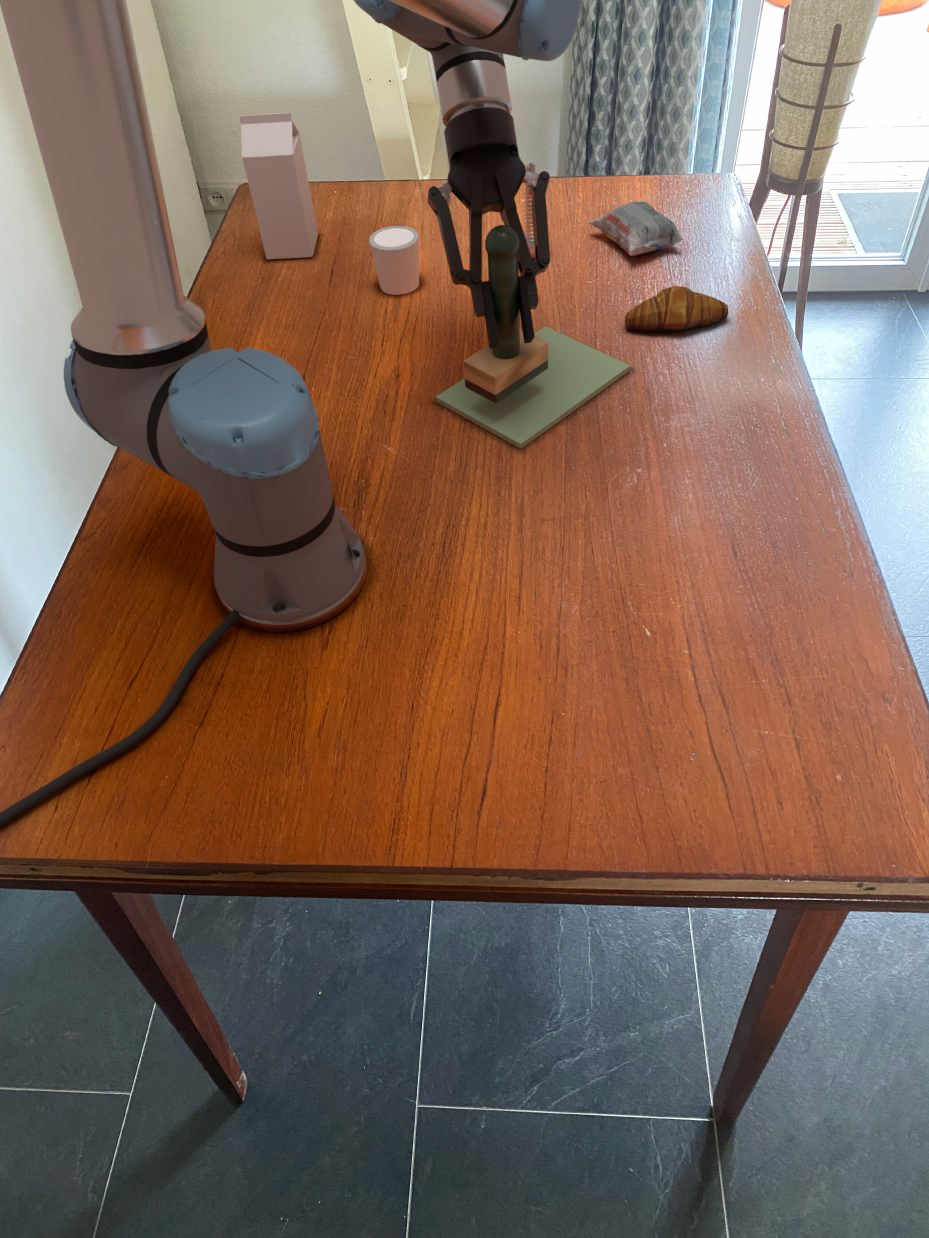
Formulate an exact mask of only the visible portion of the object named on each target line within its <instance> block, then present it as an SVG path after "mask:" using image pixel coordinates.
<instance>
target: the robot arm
mask: <svg viewBox="0 0 929 1238" xmlns="http://www.w3.org/2000/svg"><path fill="white" fill-rule="evenodd" d="M353 2H354V3H355V4H356V6H357V7H358V8H359V9H360V10H362V11H363V12H364V13H366V14H367V15H368V16H370V17H371V18H372V19H373V20H374V22H376V23H377V24H382V25H383V26H385V27H387V29H388V28H389V29H390V30H392V31H394V32H395V33H397V34H399V35H400V36H402V37H404V38H405V39H407V40H408V41H410V42H412V43H414V44H415V45H417V46H418V47H420V48H422V49H423V50H425V51H427V52H429V53H430V56H431V58H432V63H433V70H434V75H435V82H436V87H437V93H438V100H439V107H440V113H441V114H440V115H441V121H442V124H443V126H444V127H445V128H444V131H443V135H444V141H445V147H446V154H447V160H448V167H449V171H448V174H447V178H446V181H445V182H443V183H442V184H440V185H438V186H436V185H432V186H430V187H429V188H428V192H427V203H428V206H429V207H430V208H431V210H432V212H433V213H434V215H435V216H436V218H437V222H438V228H439V231H440V235H441V240H442V244H443V249H444V252H445V256H446V260H447V266H448V269H449V274H450V277H451V282H452V283H453V284H454V285H455V286H459V285H461V286H466V287H467V288H469V291H470V295H471V301H472V308H473V314H474V316H475V317H476V318H483V317H484V322H485V329H486V335H487V341H488V342H487V343H488V345H489V348H490V349H491V348H496V347H497V345H498V343H499V340H498V333H497V327H496V320H495V314H494V307H493V301H492V294H491V288H490V281H489V280H483V279H482V277H483V215H486V214H488V213H490V212H491V213H499V215H500V218H501V222H502V223H503V225H507V226H510V227H511V228H513V229H514V230H515V231H516V233H517V234H518V237H519V240H520V246H519V250H518V273H519V275H518V277H519V319H520V323H521V329H522V331H523V337H524V344H525V343H531V342H532V340H533V339H534V337H535V336H534V333H535V331H534V323H533V317H532V310H536V309H537V308H538V305H539V302H540V300H539V293H538V286H537V279H536V277H537V276H538V275H540V274H542V273H543V274H544V273H545V272H546V271H547V269H548V267H549V265H550V264H551V251H550V239H549V238H550V236H549V226H548V225H549V224H548V211H547V210H548V209H547V196H546V195H547V190H548V186H549V182H550V178H551V176H550V175H551V174H550V173H549V172H548V171H546V170H543V171H541V172H540V173H537V172H536V173H534V172H531V171H528V170H526V165H525V163H524V161H522V159H521V157H520V153H519V147H518V141H517V135H516V128H515V121H514V117H513V115H512V114H511V113H512V110H513V109H512V108H513V106H512V101H511V95H510V89H509V82H508V76H507V69H506V63H505V59H504V55H506V56H507V55H508V56H512V57H516V58H520V59H522V60H523V61H528V60H533V61H541V62H551V61H554V60H556V59H558V58H560V57H561V56H563V54H564V53H565V52H566V51H567V50H568V48H569V46H570V45H571V43H572V41H573V39H574V37H575V34H576V31H577V26H578V22H579V19H580V16H581V15H580V14H581V7H582V0H353ZM0 10H1V13H2V17H3V21H4V25H5V28H6V33H7V35H8V40H9V43H10V47H11V51H12V53H13V57H14V61H15V66H16V67H17V72H18V76H19V79H20V83H21V86H22V89H23V94H24V98H25V101H26V105H27V109H28V112H29V116H30V120H31V123H32V127H33V131H34V133H35V137H36V142H37V145H38V149H39V152H40V156H41V159H42V162H43V166H44V171H45V174H46V178H47V181H48V185H49V188H50V192H51V196H52V199H53V203H54V206H55V209H56V214H57V217H58V221H59V225H60V228H61V229H60V230H61V232H62V235H63V239H64V240H63V241H64V243H65V247H66V251H67V254H68V258H69V261H70V265H71V269H72V272H73V276H74V279H75V283H76V288H77V291H78V295H79V298H80V301H81V305H82V307H81V309H80V311H79V312H78V313H77V314H76V316H75V317H74V318H73V320H72V322H71V324H70V333H71V339H72V340H71V342H70V344H69V349H70V354H69V355H68V357H65V358H64V363H63V383H64V389H65V393H66V397H67V398H68V401H69V403H70V406H71V407H72V409H73V411H74V412H75V414H76V415H77V416H78V418H79V419H80V420H81V421H82V423H83V424H85V425H86V426H87V427H88V428H89V429H91V430H92V431H93V432H95V433H96V434H97V436H98V437H100V438H101V439H102V440H103V441H105V442H107V443H109V444H110V445H111V446H113V447H116V448H119V449H121V450H123V451H125V452H127V453H128V454H130V455H132V456H134V457H135V458H137V459H139V460H141V461H142V462H144V463H146V464H148V465H149V466H152V467H154V468H155V469H157V470H159V471H160V472H163V473H164V474H166V475H168V476H170V477H172V478H174V479H175V480H177V481H179V482H180V483H182V484H184V485H185V486H187V487H188V488H190V489H192V490H194V491H195V492H196V493H197V495H199V497H200V498H201V500H202V502H203V504H204V507H205V510H206V512H207V515H208V518H209V521H210V523H211V526H212V528H213V531H214V534H215V544H214V564H213V565H214V566H213V582H214V587H215V590H216V593H217V595H218V598H219V600H220V603H221V605H222V606H223V608H224V609H225V611H226V613H228V615H227V616H226V617H225V618H224V619H223V620H222V621H221V623H220V624H218V626H216V628H215V629H214V630H213V631H212V632H211V633H210V634H209V635H208V636H207V637H206V638H205V640H203V642H202V643H201V644H200V645H199V646H198V647H197V648H196V649H195V651H194V652H193V653H192V655H191V656H190V657H189V659H188V661H187V662H186V664H184V667H183V668H182V669H181V671H180V673H179V675H178V676H177V679H176V681H175V683H174V684H173V685H172V687H171V689H170V691H169V693H168V695H167V696H166V698H165V699H164V701H163V702H162V703H161V705H160V706H159V708H158V709H156V711H155V712H154V713H153V714H152V715H151V716H150V717H149V718H148V719H147V720H146V721H145V722H144V723H143V724H142V725H140V726H139V727H138V728H137V729H136V730H134V731H133V732H132V733H130V734H129V735H127V736H126V737H124V738H123V739H121V740H120V741H118V742H116V743H115V744H113V745H111V746H110V747H108V748H106V749H104V750H103V751H100V752H99V753H97V754H95V755H92V756H91V757H90V758H88V759H86V760H84V761H82V762H80V763H79V764H78V765H76V766H74V767H72V768H71V769H69V770H67V771H66V772H64V773H62V774H60V775H59V776H57V777H56V778H55V779H52V780H51V781H50V782H48V783H46V784H45V785H44V786H43V785H42V786H41V787H40V788H38V789H37V790H35V791H34V792H32V793H30V794H28V795H27V796H25V797H24V798H22V799H21V800H19V801H17V802H15V803H14V804H12V805H10V806H9V807H8V808H6V809H4V810H3V811H1V812H0V827H2V826H4V825H5V824H7V823H9V822H10V821H12V820H14V819H15V818H16V817H18V816H19V815H21V814H23V813H25V812H26V811H27V810H30V809H31V808H32V807H34V806H36V805H38V804H40V802H42V801H44V800H45V799H47V798H49V797H50V796H52V795H53V794H55V793H57V792H59V791H60V790H62V789H63V788H65V787H66V786H68V785H69V784H71V783H72V782H74V781H76V780H77V779H79V778H81V777H83V776H84V775H86V774H88V773H89V772H91V771H93V770H94V769H96V768H99V767H100V766H102V765H103V764H105V763H107V762H109V761H111V760H113V759H114V758H116V757H118V756H119V755H121V754H123V753H124V752H126V751H128V750H129V749H131V748H132V747H134V746H135V745H137V744H138V743H139V742H141V741H142V740H144V738H146V737H147V736H148V735H149V734H150V733H152V732H153V731H154V730H156V728H157V727H158V726H159V725H161V723H162V722H163V721H164V720H165V719H166V718H167V716H168V715H169V714H170V713H171V712H172V710H173V709H174V708H175V706H176V705H177V703H178V701H179V700H180V698H181V696H182V694H183V692H184V691H185V689H186V687H187V685H188V683H189V681H190V679H191V678H192V676H193V674H194V672H195V671H196V669H197V668H198V666H199V665H200V663H201V662H202V661H203V659H204V658H205V657H206V656H207V654H208V653H209V652H210V651H211V650H212V649H213V647H215V646H216V644H217V643H218V642H219V641H221V639H222V638H223V637H224V636H225V635H226V633H228V631H229V630H230V629H231V628H232V627H233V626H234V625H235V624H236V623H237V622H238V623H240V624H242V625H245V626H246V627H249V628H251V629H254V630H259V631H264V632H273V633H285V632H287V633H288V632H295V631H301V630H305V629H309V628H312V627H315V626H318V625H320V624H322V623H325V622H326V621H329V620H330V619H332V618H334V617H336V616H338V615H339V614H341V612H343V611H344V610H345V609H346V608H347V607H348V606H350V605H351V604H352V603H353V601H354V600H355V599H356V598H357V596H358V595H359V593H360V592H361V590H362V589H363V587H364V584H365V582H366V580H367V579H366V578H367V573H368V561H367V557H366V552H365V551H366V550H365V547H364V544H363V541H362V539H361V537H360V536H359V534H358V532H357V531H356V529H355V528H354V527H353V526H352V524H351V523H350V521H349V520H348V518H347V516H345V515H344V513H343V512H342V510H341V509H340V507H339V506H338V504H337V503H336V501H335V496H334V492H333V488H332V483H331V478H330V474H329V468H328V463H327V459H326V454H325V449H324V444H323V440H322V435H321V429H320V425H319V416H318V412H317V408H316V407H315V404H314V401H313V399H312V397H311V394H310V391H309V389H308V387H307V384H306V382H305V379H304V378H303V377H302V375H301V374H300V373H299V371H298V370H297V369H296V368H295V367H294V366H293V365H292V364H291V363H289V362H288V361H287V360H285V359H283V358H282V357H280V356H278V355H276V354H274V353H271V352H269V351H266V350H262V349H257V348H252V347H244V348H243V349H242V350H240V351H236V350H235V348H234V347H225V348H217V349H213V350H212V347H211V342H210V337H209V336H210V335H209V331H208V325H207V319H206V314H205V312H204V310H203V308H202V307H201V306H200V305H199V304H197V303H196V302H194V301H193V300H192V299H190V298H189V297H188V296H185V295H184V290H183V284H182V279H181V274H180V271H179V270H180V269H179V265H178V259H177V254H176V249H175V244H174V239H173V234H172V228H171V224H170V223H171V222H170V219H169V218H170V217H169V213H168V209H167V202H166V198H165V192H164V187H163V182H162V177H161V172H160V168H159V162H158V157H157V151H156V147H155V141H154V136H153V132H152V131H153V130H152V126H151V121H150V117H149V112H148V111H149V110H148V105H147V100H146V96H145V90H144V86H143V80H142V76H141V74H142V73H141V70H140V65H139V59H138V54H137V50H136V44H135V39H134V33H133V28H132V23H131V18H130V13H129V8H128V4H127V0H0ZM522 184H524V185H525V184H526V186H527V193H528V194H529V195H531V196H532V203H531V206H532V221H533V235H534V248H535V258H534V260H533V258H532V257H531V254H530V251H529V248H528V244H527V241H526V238H525V235H524V232H525V231H524V228H523V225H522V223H521V220H520V216H519V213H518V210H517V209H518V208H517V202H516V200H515V198H516V196H517V194H518V192H519V190H520V188H521V186H522ZM526 186H525V187H526ZM451 194H452V195H454V197H456V198H457V200H459V201H460V203H461V204H462V205H463V206H464V207H465V208H466V209H467V210H468V269H464V264H463V260H462V255H461V252H460V251H461V250H460V247H459V243H458V239H457V235H456V230H455V225H454V222H453V217H452V212H451V210H450V209H451V208H450V205H451V201H452V198H451V197H452V196H451Z"/></svg>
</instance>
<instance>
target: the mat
mask: <svg viewBox="0 0 929 1238" xmlns="http://www.w3.org/2000/svg"><path fill="white" fill-rule="evenodd" d="M534 335H535V336H537V337H539V338H541V339H543V340H545V341H547V342H548V369H546V370H545V371H543V372H542V373H541V374H539V375H538V376H536V377H535V378H533V379H532V380H530V381H529V382H527V383H526V384H524V385H523V386H521V387H520V388H519V389H517V390H516V391H514V392H513V393H511V394H510V395H508V396H507V397H505V398H504V399H502V400H501V401H499V402H498V403H497V404H495V403H494V402H492V401H490V400H488V399H486V398H484V397H482V396H480V395H479V394H477V393H475V392H473V391H471V390H469V389H467V388H466V387H465V378H464V377H463V378H462V379H460V380H458V381H457V382H456V383H454V384H453V385H451V386H450V387H449V388H447V389H445V390H443V391H442V392H441V393H439V394H437V395H436V396H435V402H436V403H437V404H439V405H440V406H443V407H444V408H446V409H448V410H450V411H452V412H454V413H455V414H457V415H459V416H460V417H463V418H464V419H466V420H468V421H469V422H471V423H472V424H475V425H477V426H479V427H480V428H482V429H484V430H485V431H487V432H489V433H490V434H492V435H494V436H496V437H498V438H500V439H502V440H504V441H505V442H507V443H509V444H510V445H512V446H514V447H516V448H518V449H519V450H522V449H523V448H525V447H526V446H527V445H529V444H530V443H532V442H533V441H534V440H535V439H537V438H538V437H540V436H541V435H543V434H544V433H546V432H547V431H549V430H550V429H551V428H552V427H554V426H555V425H557V424H558V423H559V422H561V421H562V420H564V419H565V418H567V417H568V416H569V415H570V414H572V413H573V412H575V411H577V409H579V408H580V407H582V406H583V405H584V404H586V403H587V402H588V401H590V400H591V399H593V398H594V397H595V396H597V395H599V393H601V392H602V391H604V390H605V389H606V388H609V386H611V385H612V384H613V383H615V382H616V381H618V380H619V379H620V378H621V377H623V376H625V375H626V374H628V373H629V372H630V371H631V364H628V363H626V362H624V361H622V360H619V359H617V358H615V357H613V356H610V355H608V354H607V353H604V352H602V351H600V350H598V349H595V348H593V347H591V346H589V345H587V344H585V343H582V342H581V341H578V340H576V339H574V338H572V337H569V336H568V335H566V334H563V333H561V332H559V331H557V330H554V329H552V328H551V327H548V326H542V328H540V329H537V330H536V331H534Z"/></svg>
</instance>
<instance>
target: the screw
mask: <svg viewBox="0 0 929 1238" xmlns="http://www.w3.org/2000/svg"><path fill="white" fill-rule="evenodd" d="M525 167H526V170H528V171H531V172H534V173H537V165H536V163H533V162H529V163H527V164H526V165H525ZM524 187H525V188H524V191H525V192H524V200H525V201H523V203H524V204H525V205H524V208H525V209H524V212H525V213H524V220H525V222H524V224H525V225H524V228H525V229H524V231H523V232H524V235H525V238H526V241H527V244H528V248H529V251H530V254H531V257H532V259H535V248H534V235H533V221H532V206H531V203H532V196H531V195H529V194H528V193H527V186H526V184H525V183H524Z"/></svg>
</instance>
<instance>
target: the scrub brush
mask: <svg viewBox="0 0 929 1238" xmlns="http://www.w3.org/2000/svg"><path fill="white" fill-rule="evenodd" d="M519 246H520V240H519V237H518V234H517V233H516V231H515V230H514V229H513V228H511V227H510V226H507V225H504V224H499V225H495V226H494V227H492V229H490V230H489V231H488V233H487V234H486V237H485V241H484V247H485V251H486V254H487V274H488V275H487V276H488V281H490V288H491V294H492V301H493V307H494V314H495V320H496V327H497V333H498V340H499V343H498V345H497V347H496V348H491V349H490V348H489V344H488V345H485V347H483V348H481V349H480V350H478V351H476V352H475V353H474V354H471V355H470V356H469V357H467V358H465V359H464V360H463V361H462V364H463V375H464V377H463V379H464V378H465V387H466V388H467V389H469V390H471V391H473V392H475V393H477V394H479V395H480V396H482V397H484V398H486V399H488V400H490V401H492V402H494V403H495V404H497V403H498V402H499V401H501V400H502V399H504V398H505V397H507V396H508V395H510V394H511V393H513V392H514V391H516V390H517V389H519V388H520V387H521V386H523V385H524V384H526V383H527V382H529V381H530V380H532V379H533V378H535V377H536V376H538V375H539V374H541V373H542V372H543V371H545V370H546V369H548V342H547V341H545V340H543V339H541V338H539V337H537V336H535V335H534V336H535V337H534V339H533V340H532V342H531V343H525V344H524V337H523V331H522V328H520V311H519V277H518V276H519V269H518V250H519Z"/></svg>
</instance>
